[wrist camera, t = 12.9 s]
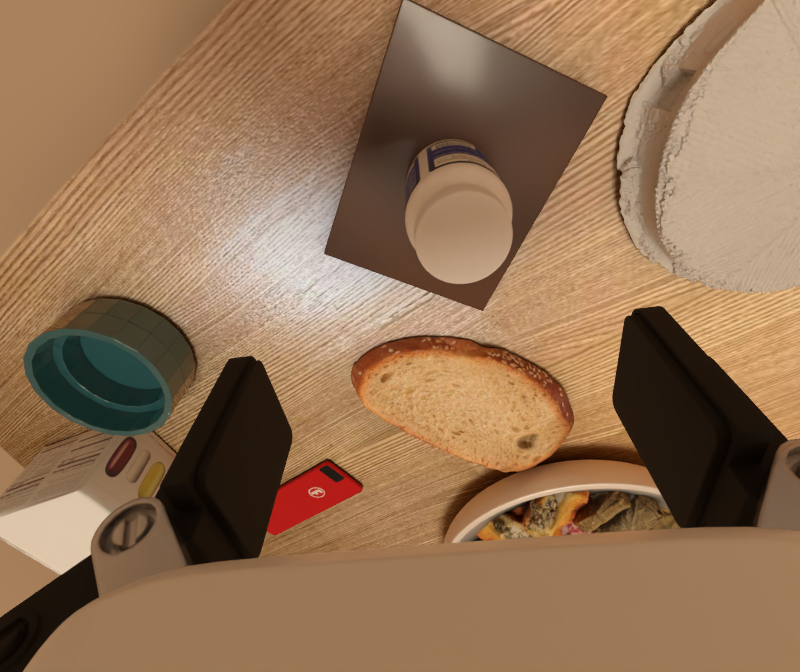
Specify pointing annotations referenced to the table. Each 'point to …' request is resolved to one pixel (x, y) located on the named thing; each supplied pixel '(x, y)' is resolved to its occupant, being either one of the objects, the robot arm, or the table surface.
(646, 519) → the bowl
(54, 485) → the supplement box
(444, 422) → the bread slice
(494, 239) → the pill bottle
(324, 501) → the electronic device
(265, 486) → the robot arm
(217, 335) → the table surface
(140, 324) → the teal bowl
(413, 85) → the walnut board
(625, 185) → the grey pie
